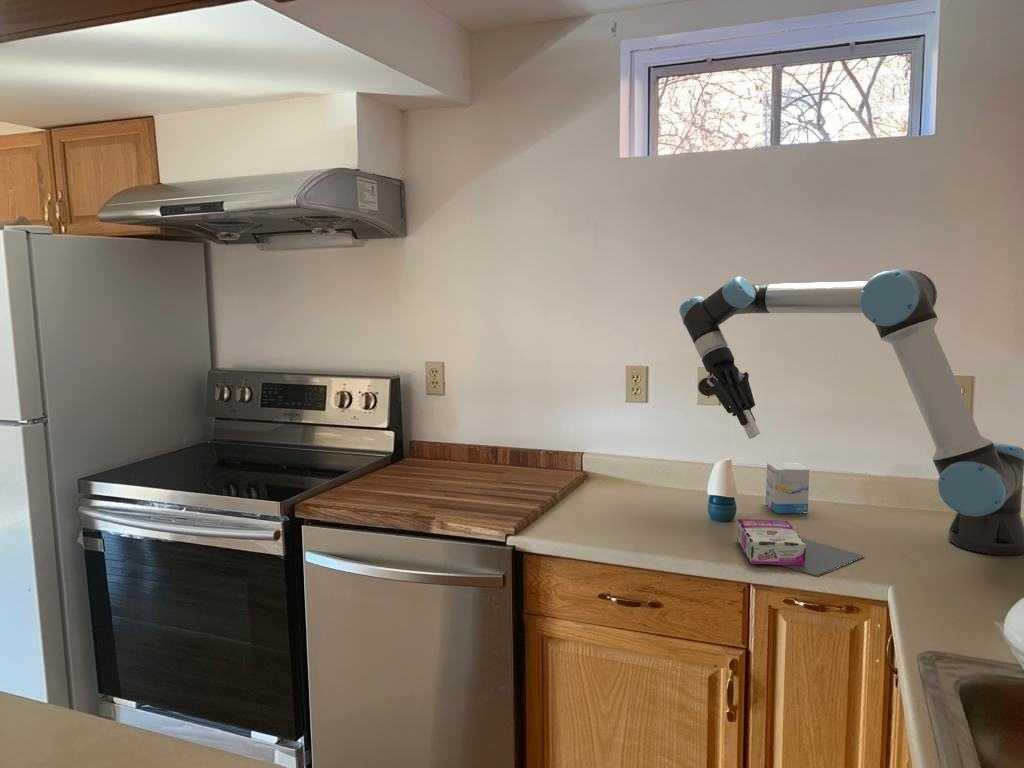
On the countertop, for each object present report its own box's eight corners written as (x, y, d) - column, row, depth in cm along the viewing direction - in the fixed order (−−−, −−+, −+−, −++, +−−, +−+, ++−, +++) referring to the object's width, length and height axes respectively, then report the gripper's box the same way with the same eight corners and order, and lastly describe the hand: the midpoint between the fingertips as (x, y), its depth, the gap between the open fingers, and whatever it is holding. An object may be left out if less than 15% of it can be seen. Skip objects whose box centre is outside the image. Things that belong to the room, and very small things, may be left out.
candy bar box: (736, 539, 176) (749, 564, 160) (737, 518, 176) (750, 541, 159) (787, 541, 175) (805, 566, 159) (788, 520, 174) (806, 543, 158)
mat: (864, 557, 165) (864, 555, 165) (817, 576, 154) (817, 575, 154) (789, 536, 179) (789, 534, 179) (741, 552, 168) (741, 551, 168)
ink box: (808, 513, 197) (810, 469, 195) (775, 514, 197) (776, 469, 196) (797, 504, 205) (798, 461, 204) (764, 504, 206) (766, 461, 204)
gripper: (725, 358, 203) (764, 438, 194) (687, 363, 197) (725, 446, 188) (742, 343, 197) (783, 425, 188) (703, 347, 191) (744, 433, 182)
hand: (754, 435), depth 188 cm, fingers closed
